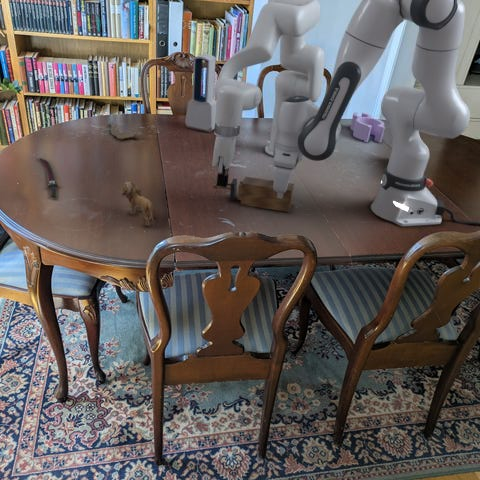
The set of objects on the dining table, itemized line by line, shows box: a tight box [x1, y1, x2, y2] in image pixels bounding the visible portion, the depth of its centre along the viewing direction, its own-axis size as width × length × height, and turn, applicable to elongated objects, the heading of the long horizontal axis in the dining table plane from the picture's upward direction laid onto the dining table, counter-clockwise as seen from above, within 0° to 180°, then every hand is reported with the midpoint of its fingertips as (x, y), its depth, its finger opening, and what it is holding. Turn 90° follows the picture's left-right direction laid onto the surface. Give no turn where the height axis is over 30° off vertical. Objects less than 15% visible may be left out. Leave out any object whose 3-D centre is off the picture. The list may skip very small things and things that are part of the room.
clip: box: [349, 112, 386, 143], centre depth 214 cm, size 20×12×7 cm, turn 11°
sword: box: [40, 158, 59, 198], centre depth 151 cm, size 31×3×1 cm, turn 26°
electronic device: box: [184, 53, 217, 133], centre depth 194 cm, size 12×8×30 cm, turn 71°
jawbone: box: [109, 121, 143, 140], centre depth 188 cm, size 9×20×2 cm, turn 50°
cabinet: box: [240, 176, 295, 213], centre depth 147 cm, size 16×5×7 cm, turn 78°
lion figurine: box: [119, 181, 159, 227], centre depth 134 cm, size 15×5×9 cm, turn 50°
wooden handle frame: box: [212, 177, 244, 201], centre depth 148 cm, size 20×4×6 cm, turn 78°
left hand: (222, 185), depth 148 cm, fingers closed
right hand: (281, 192), depth 146 cm, fingers closed on cabinet, 5 cm apart
